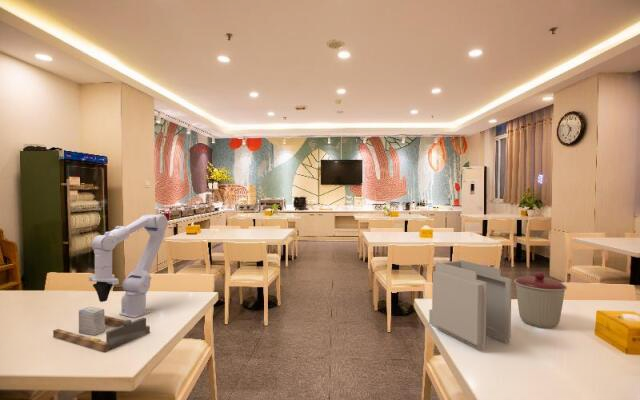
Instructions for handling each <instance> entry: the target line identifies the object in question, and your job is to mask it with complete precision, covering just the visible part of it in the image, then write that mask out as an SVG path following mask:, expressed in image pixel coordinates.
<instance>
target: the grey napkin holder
mask: <svg viewBox="0 0 640 400" xmlns="http://www.w3.org/2000/svg"><path fill="white" fill-rule="evenodd" d="M501 270H502V269H501V268H497V267H494V266H490V265H489V266H488V265H484V264H481V263H477V262H471V261H467V260H463V259H457V260H454V261H444V262H439V261H435V271H432V293H431V294H432V296H431V297H432V298H431V299H432V300H431V301H432V302H431V309H429V311H428V312H429V313H428V314H429V316H428V321H429V322H428V323H429V325H431V327H433V328H434V329H437V330H439V331H440V332H442V333H444V334H447V335H449V336H450V337H452V338H454V339H457V340H458V341H460V342H463V343H467V342H468V343H470V344H473V345H475V346H476V347H479V348H480V349H482V350H486V347H487V346H486V345H487V343H486V341H487V338H488V337H489V336H492V337H494V338H496V339H497V340H501V341H503V342H505V343H507V344H510V341H511V340H510V339H511V336H512V335H511V334H512V333H511V331H512V329H511V327H512V280H513V279H512V278H509V277H505V276H502V275H501V274H502V273H501V272H502V271H501Z"/></svg>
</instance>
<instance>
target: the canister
mask: <svg viewBox="0 0 640 400" xmlns="http://www.w3.org/2000/svg"><path fill="white" fill-rule="evenodd" d="M513 282H514V284H515V289H516V298H517V306H518V313H519V317H520V319H521V320H522V321H523V322H524V323H526V324H527V325H530V326H533V327H537V328H544V329H545V328H547V329H553V328H556V327H557V326H559V324H560V320H561V315H562V309H563V305H564V297H565V292H566V290H567V289H568V286H567V285H566V284H564V283H563V282H560V281H558V280H557V279H552V278H548V277H546V275H545V273H544V272H540V271H536V272H535V273H534V276H532V275H531V276H529V275H528V276H527V275H525V276H519V277H518V278H515V279H514V280H513Z"/></svg>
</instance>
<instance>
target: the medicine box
mask: <svg viewBox="0 0 640 400" xmlns="http://www.w3.org/2000/svg"><path fill="white" fill-rule="evenodd" d="M104 316H105V308H100V307H95V306H88V307H85V308H81V309H78V334H79V333H80V334H84V335H90V336H97V335H100V334H102V333H104V332H105V331H106V330H105V328H106V326H105V325H106V324H105V317H104Z"/></svg>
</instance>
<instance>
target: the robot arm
mask: <svg viewBox="0 0 640 400" xmlns="http://www.w3.org/2000/svg"><path fill="white" fill-rule="evenodd" d="M168 225H169V221H168V218H167V216H166V215H165V214H150V213H146V214H143V215H141V216H140V218H137V219H136V220H134V221H133V222H131V223H129V224H128V225H126V226H124V225H117V226H115V227H114V229H112V230H110V231H105V232H104V234H103V235H101V234H100V235H99V234H98V235H96V236H95V237H94V238H93V239H92V242H91V243H90V246H91V248H92V250H93V253H94V274H93V275H89V276H88V282H95V283H93V284H92V287H93V288H94V290H95V291H96V294H97V297H98V300H99V302H100V303H103V302H106V301H108V298H109V294H110V291H111V290H112V288H113V287H114V286H115V285H119V284H120V280H119V278H117V277H114V276H113V250H114V249H115V248H116V246H117V245H118V244H120V243H122V242H124V241H125V240H126V239H128V238H130V234H133V233H135V232H137V231H139V230H141V229H143V228H144V229H145V231H146V232H147V234H149V239H148V240H147V243H146V245H145V248H144V249H143V251H142V254H141V256H140V258H139V260H138V263H137V265H136V267H135V269H134V270H132V271H130V272H129V273H128V276H126V278H125V279H124V280H123V282H122V289H123V291H124V292H125V293H124V294H123V295H122V297H121V301H120V302H121V312H120V313H119V315H120V316H124V317H129V318H133V319H134V318H138V317H140V316H144V315H146V314H148V313H151V310H148V309H147V298H146V297H147V293H148V291H149V290H150V288H151V281H152V276H151V275H150V273H149V272H150V271H151V268H152V266H153V263H154V261H155V259H156V257H157V254H158V253H159V249H160V247H161V244H162V243H163V241H164V237H165V235H166V234H165V233H166V230H167V228H168Z"/></svg>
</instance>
